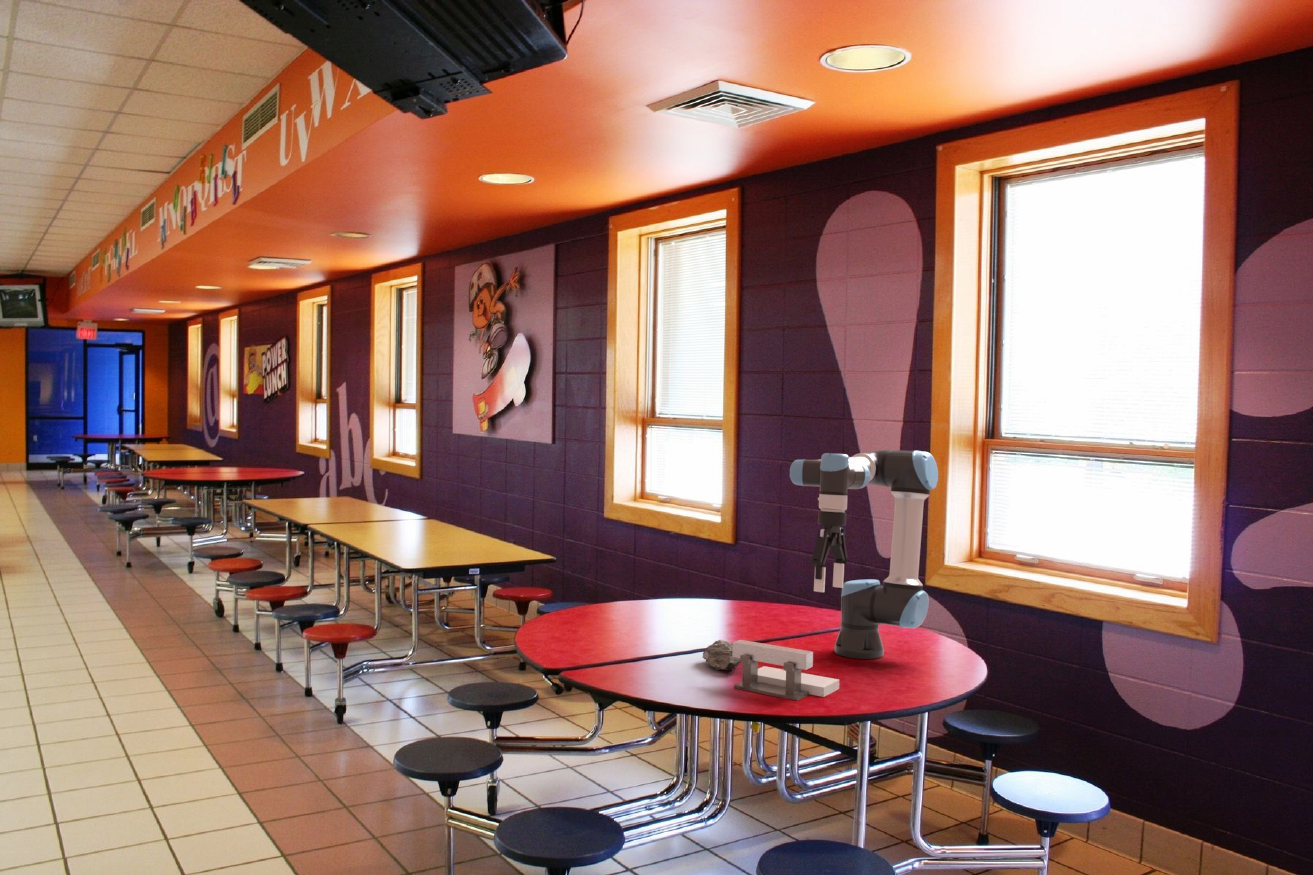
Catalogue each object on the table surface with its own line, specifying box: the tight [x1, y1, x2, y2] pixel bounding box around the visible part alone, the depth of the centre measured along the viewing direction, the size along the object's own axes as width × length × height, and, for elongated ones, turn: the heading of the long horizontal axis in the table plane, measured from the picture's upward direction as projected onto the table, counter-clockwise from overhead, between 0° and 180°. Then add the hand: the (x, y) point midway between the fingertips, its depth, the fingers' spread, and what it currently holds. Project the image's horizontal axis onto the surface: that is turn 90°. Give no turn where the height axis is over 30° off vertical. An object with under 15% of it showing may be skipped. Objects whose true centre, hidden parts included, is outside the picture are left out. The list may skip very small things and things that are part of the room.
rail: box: [732, 639, 814, 671], centre depth 259 cm, size 4×22×4 cm, turn 56°
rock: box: [702, 639, 741, 672], centre depth 283 cm, size 18×10×10 cm
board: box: [757, 665, 840, 698], centre depth 265 cm, size 10×23×2 cm, turn 56°
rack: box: [733, 655, 810, 702], centre depth 259 cm, size 7×19×9 cm, turn 56°
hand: (828, 589), depth 260 cm, fingers open, 13 cm apart
